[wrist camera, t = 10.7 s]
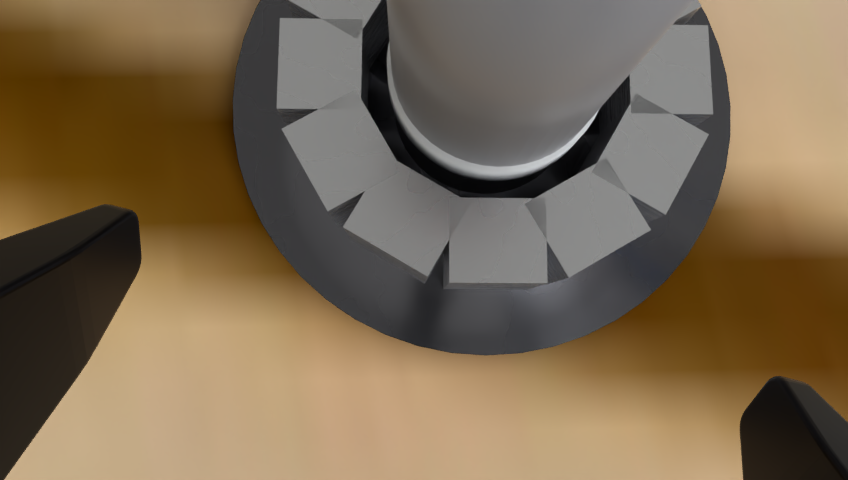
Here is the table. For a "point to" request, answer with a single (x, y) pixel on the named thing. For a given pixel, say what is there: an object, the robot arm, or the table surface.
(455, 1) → the lens tube
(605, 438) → the table surface
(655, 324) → the table surface
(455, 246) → the collar mount
